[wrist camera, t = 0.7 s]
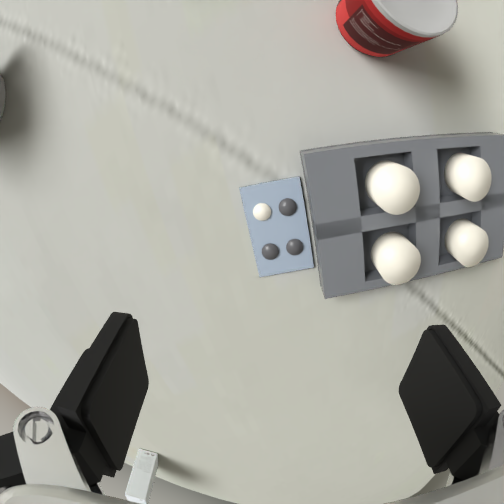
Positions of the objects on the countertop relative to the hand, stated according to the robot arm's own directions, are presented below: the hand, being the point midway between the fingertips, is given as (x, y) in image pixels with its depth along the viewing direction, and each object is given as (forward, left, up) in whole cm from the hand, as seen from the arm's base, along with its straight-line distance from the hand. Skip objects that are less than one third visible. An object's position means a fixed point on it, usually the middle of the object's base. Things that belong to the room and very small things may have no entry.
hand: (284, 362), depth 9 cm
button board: (-12, +4, -24) cm, 27 cm away
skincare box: (+34, +48, -24) cm, 64 cm away
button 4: (-20, +8, -21) cm, 30 cm away
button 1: (-11, 0, -21) cm, 24 cm away
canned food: (-14, -16, -24) cm, 32 cm away
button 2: (-11, +8, -21) cm, 25 cm away
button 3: (-20, 0, -21) cm, 29 cm away
